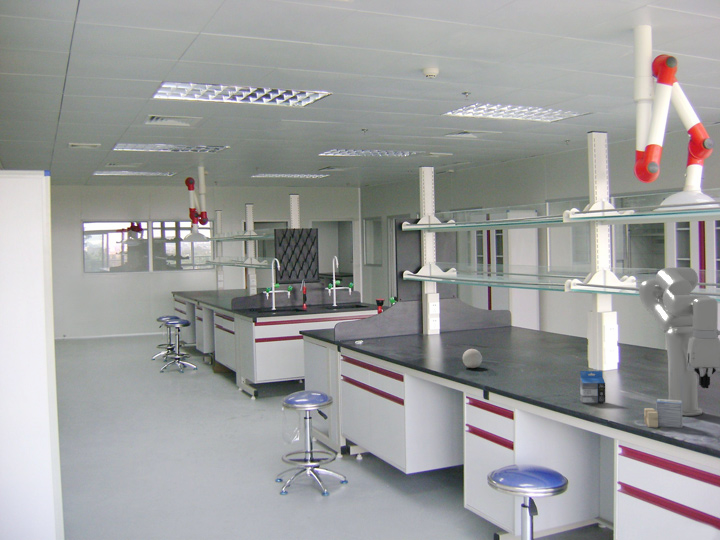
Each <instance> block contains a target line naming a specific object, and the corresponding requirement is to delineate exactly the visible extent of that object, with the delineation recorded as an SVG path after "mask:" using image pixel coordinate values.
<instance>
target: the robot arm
mask: <svg viewBox="0 0 720 540" xmlns="http://www.w3.org/2000/svg"><path fill="white" fill-rule="evenodd" d="M698 283H699V276H698V273H697V272H696V270H695V269H693V268H692V267H687V266H686V267H684V266H683V267H664V268H662V269H660V270H659V271H657V273H656V275H655V278H650V279H647V280H646V279H645V280H644V281H642V282H641V283H640V285H639V287H638V293H639V294H638V295H639V297H640V298H639V299H640V301H641V303H642V305H643V308H645V309H646V311H647V312H649V314H650V315H652V317H654V319H655V321H656V324H657V325H658V326H659V327H660V329H661V331H662V332H663V333H664V334H665V335H664V339H665V340H664V341H665V345H666V351H667V352H666V353H667V362H668V363H667V365H668V367H667V368H668V369H667V370H668V379H667V380H668V400H681V401H682V416H689V417H691V416H693V417H694V416H700V415H702V414H703V409H702V408H700V407H698V384H699V385H700V387H701V388H702V389H709V386H710V385H711V377H712V376H713V374H714V373H716V372H720V338H719V336H720V330H719V329H718V316H719V315H718V310H719V309H718V307H719V305H718V303H719V302H718V300H717V299H716V298H712V297H710V296H709V295H707V294H691V293H692V292H693V291H694V290H695V289H696V287H697V286H698ZM704 369H705V372H704Z"/></svg>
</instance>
